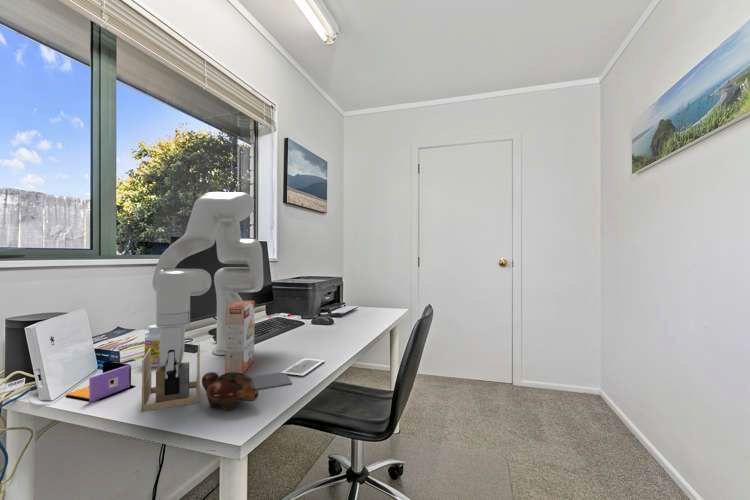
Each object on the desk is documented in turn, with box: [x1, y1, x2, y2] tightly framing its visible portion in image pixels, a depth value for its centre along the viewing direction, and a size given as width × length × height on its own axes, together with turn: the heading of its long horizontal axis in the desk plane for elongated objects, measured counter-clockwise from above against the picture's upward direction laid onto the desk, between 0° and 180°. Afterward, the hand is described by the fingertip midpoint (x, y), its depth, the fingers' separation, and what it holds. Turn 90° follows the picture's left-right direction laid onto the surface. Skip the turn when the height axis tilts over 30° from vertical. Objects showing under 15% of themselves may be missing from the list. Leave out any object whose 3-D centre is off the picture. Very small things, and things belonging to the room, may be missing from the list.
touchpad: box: [280, 357, 325, 377], centre depth 111 cm, size 8×15×2 cm, turn 163°
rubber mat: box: [250, 371, 293, 391], centre depth 100 cm, size 10×10×1 cm
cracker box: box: [224, 300, 256, 375], centre depth 111 cm, size 14×6×21 cm, turn 7°
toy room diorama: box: [65, 361, 136, 403], centre depth 91 cm, size 12×12×7 cm
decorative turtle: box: [201, 371, 260, 412], centre depth 83 cm, size 10×15×8 cm, turn 79°
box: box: [155, 361, 190, 403], centre depth 88 cm, size 5×7×8 cm
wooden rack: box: [141, 342, 201, 412], centre depth 88 cm, size 12×12×12 cm
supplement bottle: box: [144, 324, 166, 368], centre depth 114 cm, size 7×7×13 cm
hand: (173, 389), depth 88 cm, fingers closed on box, 5 cm apart
